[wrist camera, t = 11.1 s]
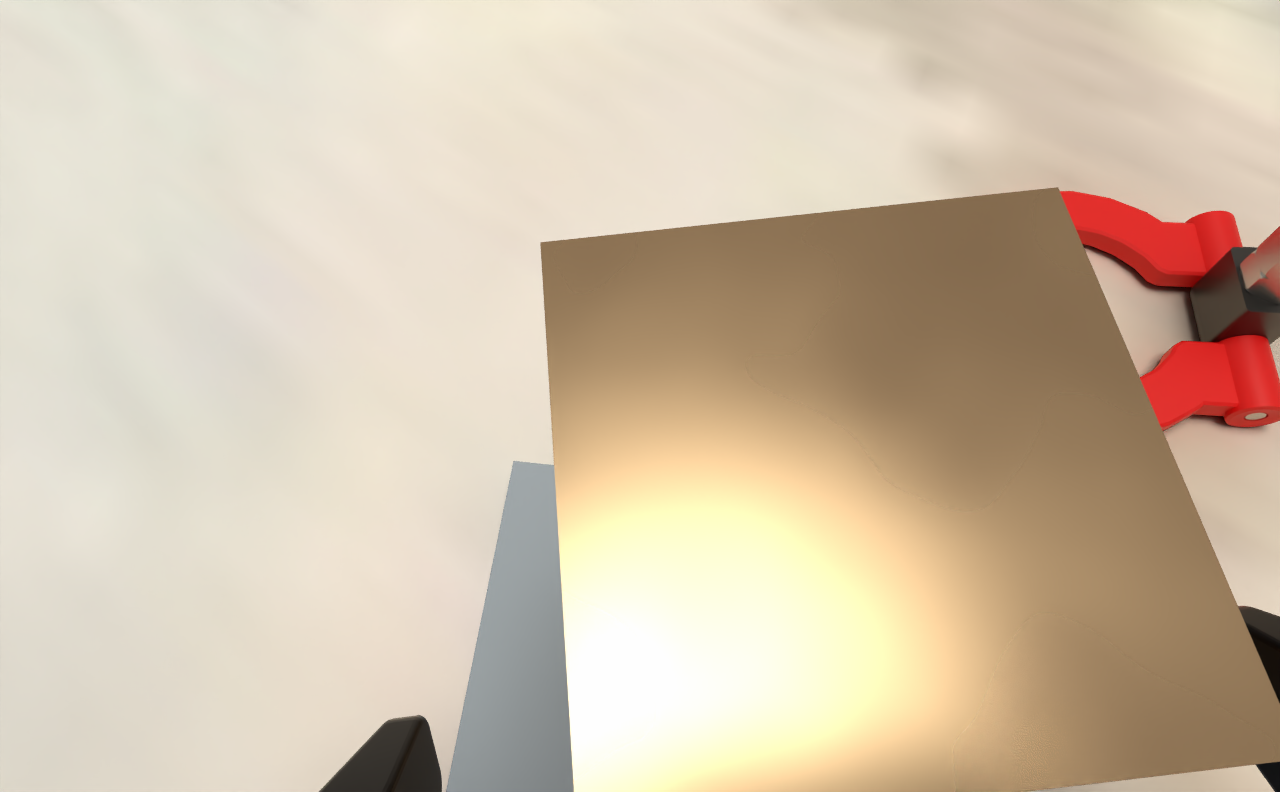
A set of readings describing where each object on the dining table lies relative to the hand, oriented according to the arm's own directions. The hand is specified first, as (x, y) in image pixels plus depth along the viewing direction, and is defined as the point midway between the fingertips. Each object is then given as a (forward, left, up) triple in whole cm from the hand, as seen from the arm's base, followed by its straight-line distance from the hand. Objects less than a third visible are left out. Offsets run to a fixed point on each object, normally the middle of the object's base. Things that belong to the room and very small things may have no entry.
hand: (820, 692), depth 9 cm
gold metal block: (+2, 0, -10) cm, 10 cm away
